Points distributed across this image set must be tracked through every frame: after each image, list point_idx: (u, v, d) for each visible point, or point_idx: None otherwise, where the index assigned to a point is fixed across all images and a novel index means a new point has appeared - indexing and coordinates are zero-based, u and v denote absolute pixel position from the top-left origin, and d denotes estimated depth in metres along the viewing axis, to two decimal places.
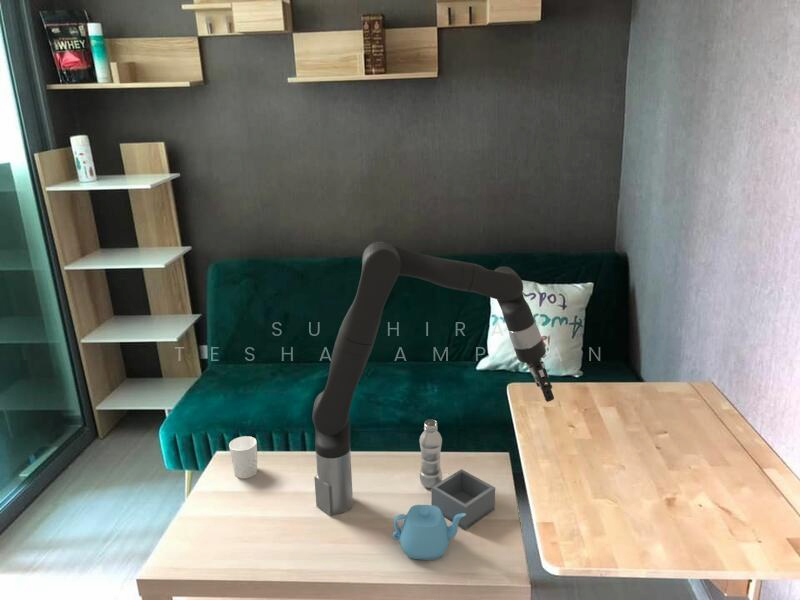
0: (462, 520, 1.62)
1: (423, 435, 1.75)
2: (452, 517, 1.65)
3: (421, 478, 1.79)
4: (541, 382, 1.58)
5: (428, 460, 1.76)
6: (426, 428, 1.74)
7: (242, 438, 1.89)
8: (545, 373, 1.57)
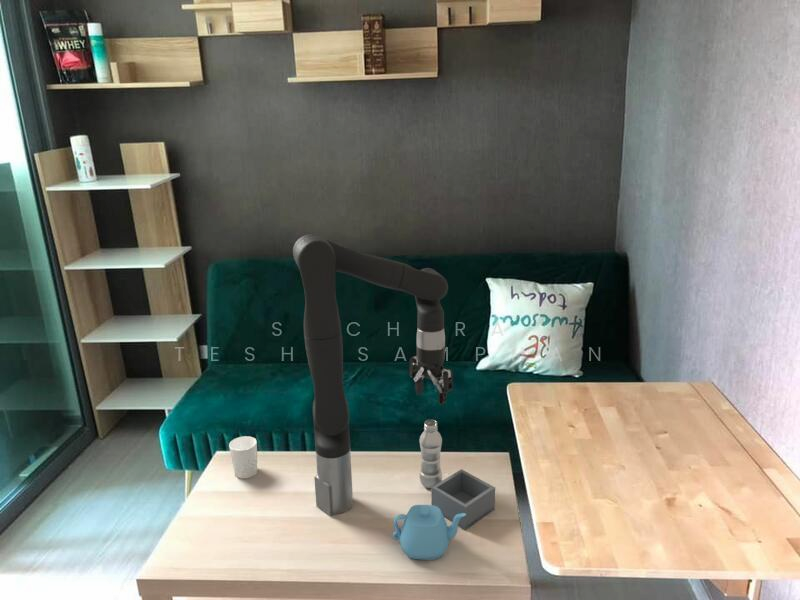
0: (462, 520, 1.62)
1: (423, 435, 1.75)
2: (452, 517, 1.65)
3: (421, 478, 1.79)
4: (447, 383, 1.65)
5: (428, 460, 1.76)
6: (426, 428, 1.74)
7: (242, 438, 1.89)
8: (451, 374, 1.66)
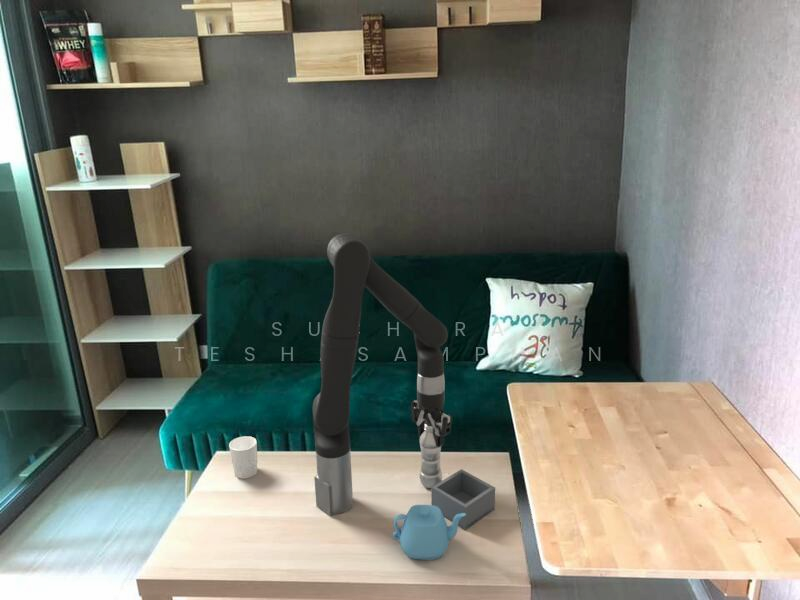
0: (462, 520, 1.62)
1: (423, 435, 1.75)
2: (452, 517, 1.65)
3: (421, 478, 1.79)
4: (446, 428, 1.70)
5: (428, 460, 1.76)
6: (426, 428, 1.74)
7: (242, 438, 1.89)
8: (451, 420, 1.70)
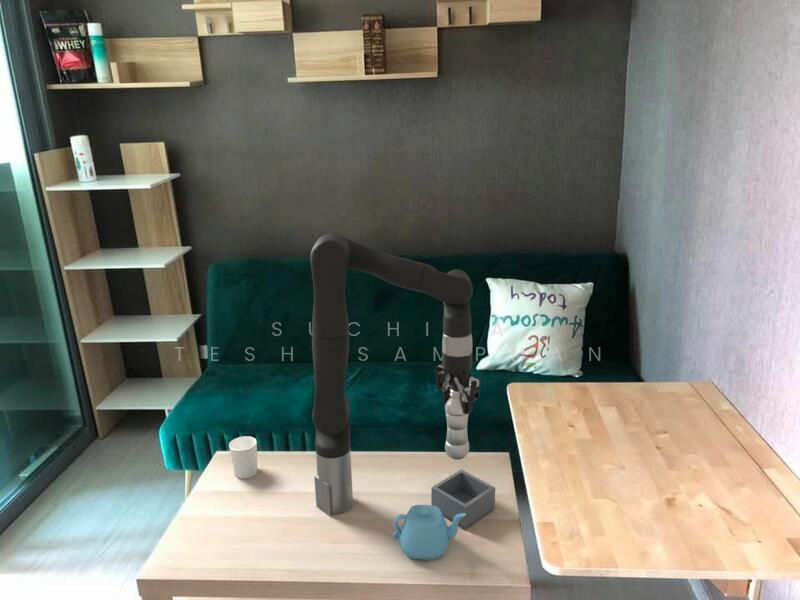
0: (462, 520, 1.62)
1: (449, 402, 1.62)
2: (452, 517, 1.65)
3: (447, 449, 1.66)
4: (474, 392, 1.57)
5: (455, 429, 1.63)
6: (452, 394, 1.61)
7: (242, 438, 1.89)
8: (480, 384, 1.57)
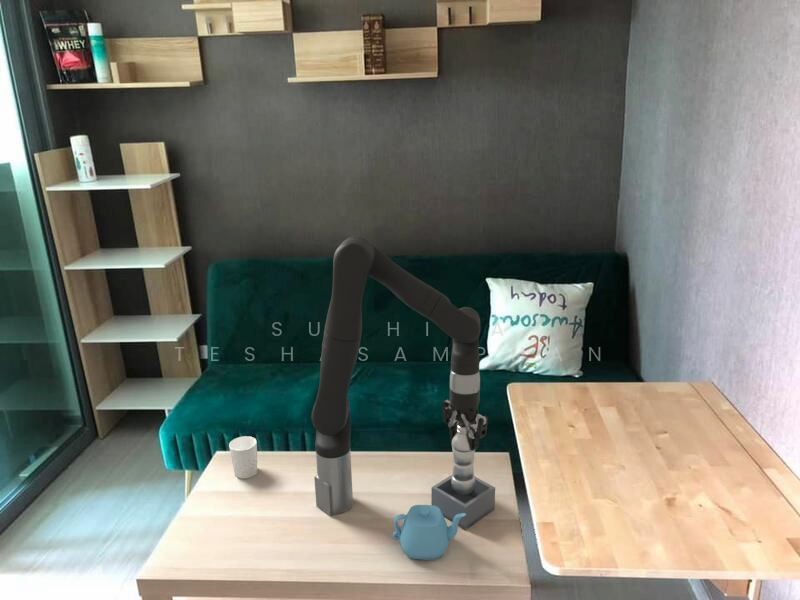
0: (462, 520, 1.62)
1: (456, 437, 1.62)
2: (452, 517, 1.65)
3: (453, 484, 1.66)
4: (481, 430, 1.57)
5: (461, 464, 1.63)
6: (459, 430, 1.61)
7: (242, 438, 1.89)
8: (486, 421, 1.57)
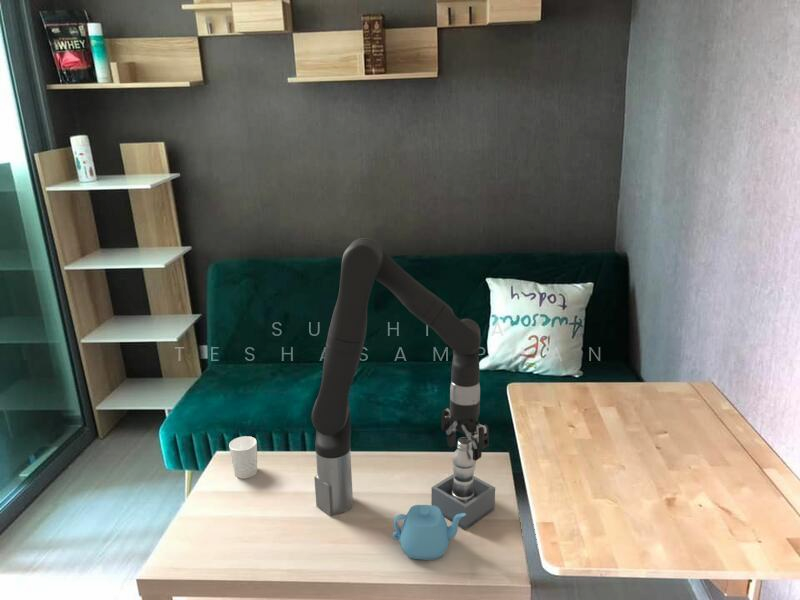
0: (462, 520, 1.62)
1: (456, 454, 1.64)
2: (452, 517, 1.65)
3: None
4: (483, 439, 1.57)
5: (461, 480, 1.65)
6: (460, 446, 1.63)
7: (242, 438, 1.89)
8: (487, 430, 1.58)
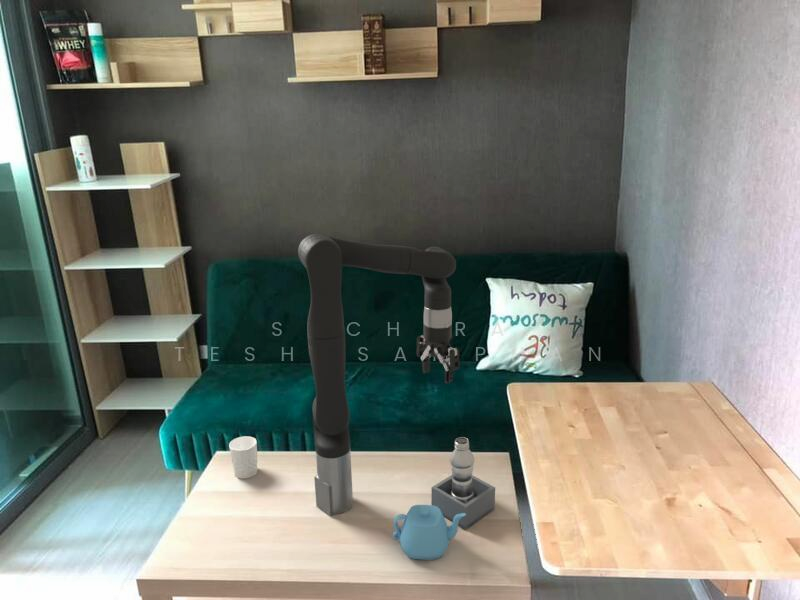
0: (462, 520, 1.62)
1: (454, 454, 1.64)
2: (452, 517, 1.65)
3: None
4: (453, 361, 1.66)
5: (460, 481, 1.65)
6: (457, 446, 1.63)
7: (242, 438, 1.89)
8: (458, 352, 1.66)
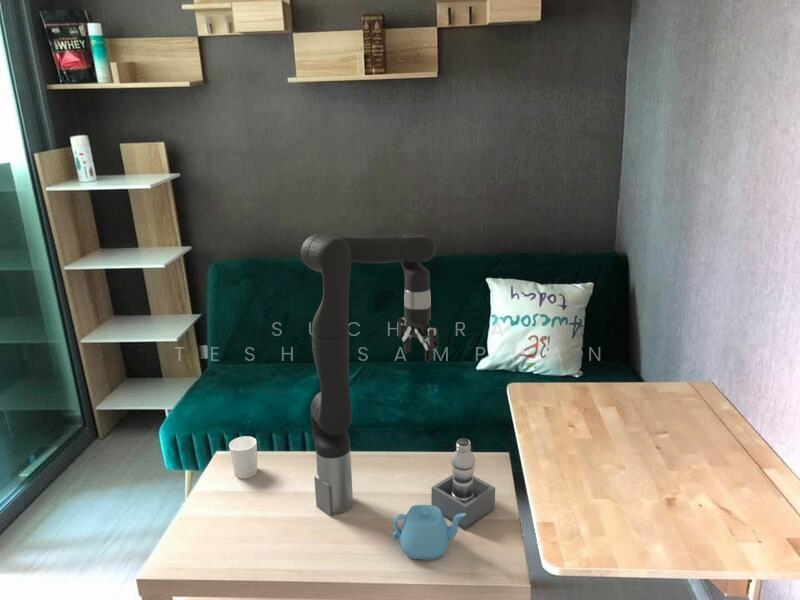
0: (462, 520, 1.62)
1: (455, 455, 1.63)
2: (452, 517, 1.65)
3: None
4: (433, 340, 1.76)
5: (461, 482, 1.64)
6: (459, 448, 1.62)
7: (242, 438, 1.89)
8: (437, 332, 1.76)
